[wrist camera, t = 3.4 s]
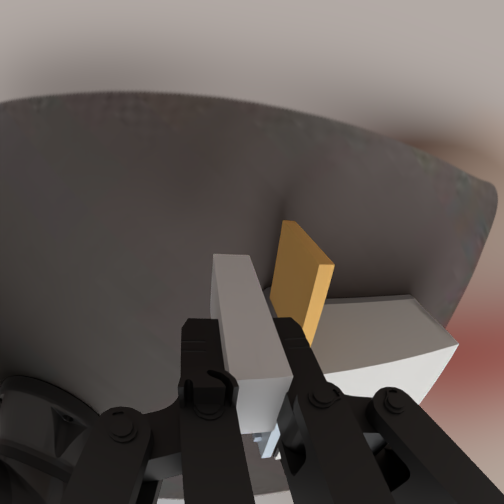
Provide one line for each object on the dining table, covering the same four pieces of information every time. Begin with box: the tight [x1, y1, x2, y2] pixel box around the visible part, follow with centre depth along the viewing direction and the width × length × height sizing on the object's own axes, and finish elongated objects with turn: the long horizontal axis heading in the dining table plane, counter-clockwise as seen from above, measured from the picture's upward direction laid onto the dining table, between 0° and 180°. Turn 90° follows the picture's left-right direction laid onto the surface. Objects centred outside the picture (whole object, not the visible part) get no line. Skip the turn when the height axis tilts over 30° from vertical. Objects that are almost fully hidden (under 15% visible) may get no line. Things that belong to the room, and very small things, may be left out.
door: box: [252, 220, 335, 458], centre depth 20 cm, size 2×19×8 cm, turn 173°
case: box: [273, 294, 459, 459], centre depth 23 cm, size 14×12×8 cm
